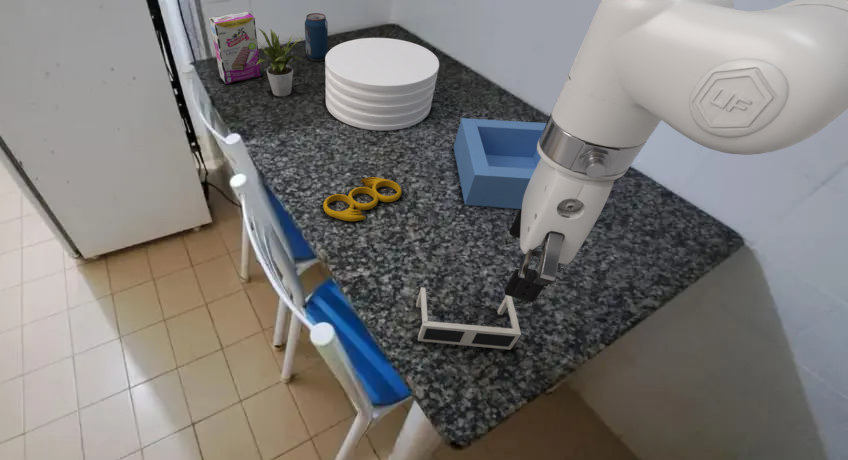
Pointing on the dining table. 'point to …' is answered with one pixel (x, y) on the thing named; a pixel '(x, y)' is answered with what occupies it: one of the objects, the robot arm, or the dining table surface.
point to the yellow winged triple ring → (357, 214)
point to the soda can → (316, 36)
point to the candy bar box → (235, 46)
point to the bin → (496, 160)
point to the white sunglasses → (469, 329)
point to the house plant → (278, 65)
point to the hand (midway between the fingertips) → (520, 264)
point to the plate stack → (380, 83)
